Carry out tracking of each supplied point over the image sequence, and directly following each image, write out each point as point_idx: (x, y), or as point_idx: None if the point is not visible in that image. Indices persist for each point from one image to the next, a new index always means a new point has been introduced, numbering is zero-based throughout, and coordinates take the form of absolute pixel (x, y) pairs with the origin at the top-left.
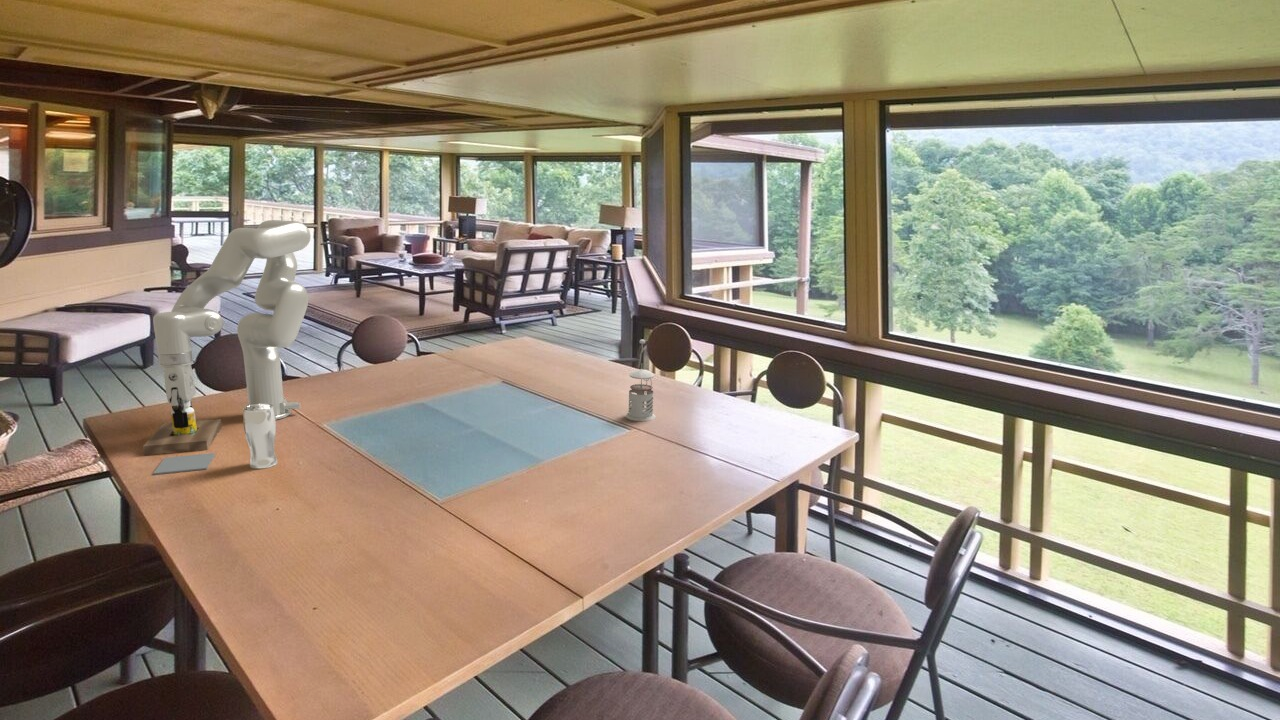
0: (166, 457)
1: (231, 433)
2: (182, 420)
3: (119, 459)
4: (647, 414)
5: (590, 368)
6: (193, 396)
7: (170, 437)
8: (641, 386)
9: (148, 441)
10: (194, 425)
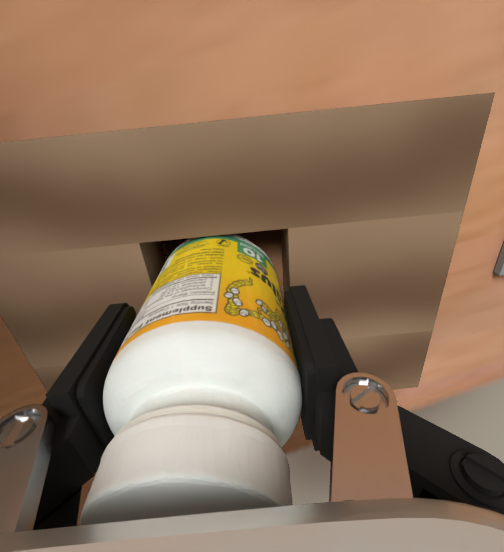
0: (502, 269)
1: (101, 19)
2: (340, 340)
3: (403, 404)
4: None
5: None
6: (67, 547)
7: None
8: None
9: None
10: (233, 258)
